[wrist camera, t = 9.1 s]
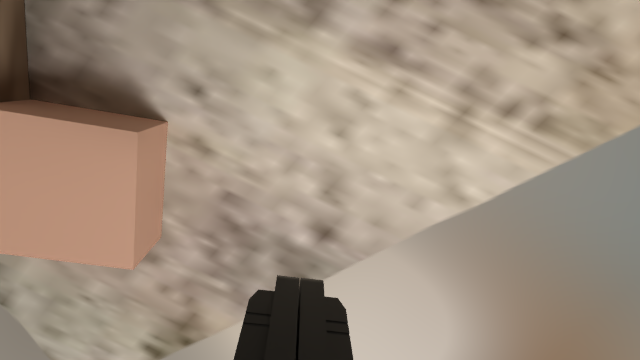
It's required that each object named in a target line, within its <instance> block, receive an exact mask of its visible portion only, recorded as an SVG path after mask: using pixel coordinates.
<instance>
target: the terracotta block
mask: <svg viewBox="0 0 640 360" xmlns="http://www.w3.org/2000/svg"><path fill="white" fill-rule="evenodd" d="M167 127H168V122H165V121H159V120H153V119H147V118H141V117H135V116H129V115H123V114H117V113H111V112H105V111H99V110H93V109H87V108H81V107H75V106H68V105H62V104H56V103H50V102H44V101H38V100H32V99H31V100H20V101H9V102H0V253H1V254H9V255H17V256H25V257H33V258H41V259H50V260H58V261H66V262H74V263H82V264H91V265H99V266H107V267H115V268H123V269H131V270H133V269H134V268H135V267H136V266H137V265H138V264H139V262H140V261H141V260H142V259H143V258H144V256H145V255H146V254H147V253H148V252H149V251H150V249H151V248H152V247H153V246H154V245H155V244H156V242H157V241H158V240H159V239H160V238H161V231H162V214H163V197H164V179H165V162H166V144H167Z"/></svg>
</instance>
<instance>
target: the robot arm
mask: <svg viewBox="0 0 640 360" xmlns="http://www.w3.org/2000/svg"><path fill="white" fill-rule="evenodd" d="M347 323H348V321H347V314H346V309H345V308H344V306H343V305H342V303H341V302H340V301H339V299H338V298H331V297H324V284H323V280H315V279H306V278H301V280H300V286H299V278H296V277H287V276H278V275H277V280H276V287H275V291H266V290H258V291H257V292H256V293H255V294H254V295H253V296H252V297H251V298H250V299H249V302H248V306H247V310H246V314H245V318H244V321H243V326H242V329H241V333H240V337H239V342H238V345H237V349H236V353H235V357H234V360H353V355H352V349H351V342H350V336H349V328H348V324H347Z"/></svg>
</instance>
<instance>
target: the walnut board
mask: <svg viewBox="0 0 640 360" xmlns="http://www.w3.org/2000/svg"><path fill="white" fill-rule="evenodd" d="M20 100H30V94H29V76H28V58H27V41H26V23H25V6H24V0H0V102H9V101H20Z"/></svg>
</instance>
